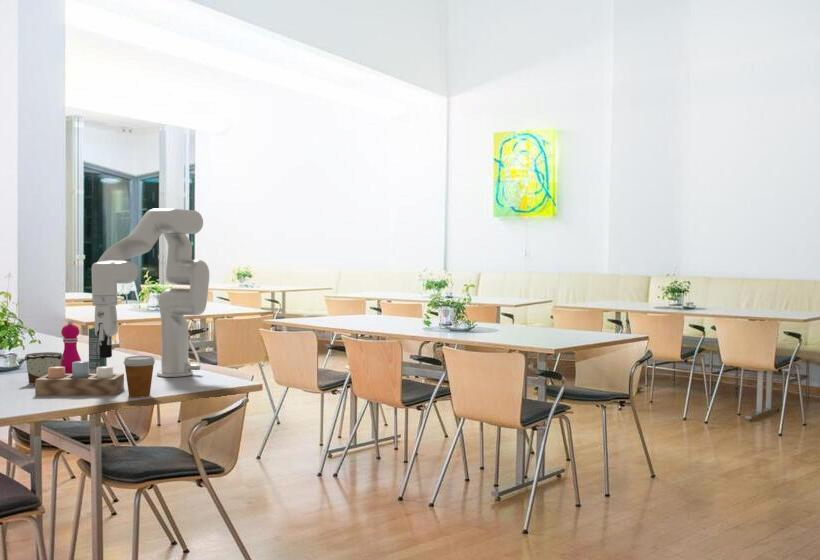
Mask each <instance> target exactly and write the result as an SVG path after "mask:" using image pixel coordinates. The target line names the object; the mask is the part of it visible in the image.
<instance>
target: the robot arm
mask: <svg viewBox="0 0 820 560" xmlns="http://www.w3.org/2000/svg"><path fill="white" fill-rule="evenodd" d="M203 218H204V217H203V216H202V214H201V213H200V212H199V211H196V210H193V209H181V208H152V209H151V208H150V209H148V210H147V211H146V212H145V213H144V214H143V216H142V217H141V219H140V220H139V221H138V223H137V224H136V226H135V227H134V228H133V229H132V231H131V232H130V234H129V235H127V236H126V237H124V238H122V239H120V240H119V241H117V242H116V243H114V244H113V245H111V246H110V247H108V248H107V249H106V250H104V252H103V253H102V254H101V256H100V257H99V259H98V260H97V262H94V263H93V264H92V265H91V294H92V295H91V297H92V299H91V300H92V302H91V303H92V306H93V307H94V328H95V335H96V336H97V337H99V341H100V357H101V358H107V359H108V358H109V359H110V358H111V357H112V356H113V347H112V346H113V344H112V341H113V340H112V339H113V336H114V335H116V334H118V332H119V329H118V328H119V327H118V313H117V312H118V311H117V307H116V306H118V284H122V285H123V284H124V285H126V284H131V283H133V282H135V281H136V280H137V279H138V277H139V274H140V271H139V267H138V266H137V264H135V262H133V261H131V260H130V261H129V259H132V258H135V257H138V256H141V255H145V254H146V253H148V252H150V251H151V250H152V249H153V247H154V246H155V244H156V243H157V241H158V240H159V238H161V235H162V234H163V236H164V238H165V240H166V242H167V248H168V249H167V259H166V268H165V278H166V281H167V282H168V283H169V284H170V285H174V286H189V288H168V289H167V288H166V289H165V290H163V291H162V292H161V293H160V294H159V296H158V303H157V304H158V308H159V315H160V321H161V322H160V323H161V325H160V326H161V331H160V332H161V333H160V335H161V336H160V337H161V339H160V340H161V341H160V343H161V348H160V349H161V353H160V354H161V361H160V363H161V365H160V366H161V370H159V371H157V372H156V375H157V377H161V378H181V377H188V376H191V375H193V373H194V372H193V371H201V364H192V363H191V361H189V325H188V322H187V319H186V317H185V316H200V315H202V314H203V313H204V312H205V310H206V309H207V303H208V294H209V287H210V285H209V284H210V269H209V266H208V264H207V263H206V262H205V261H204V260H201V259H192V256H193V252H192V251H193V246H192V242H191V240H190V239H189V237H188V235H195V234H198V233H199V232H201V230H202V229H203V226H204V219H203Z"/></svg>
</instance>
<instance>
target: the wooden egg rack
mask: <svg viewBox="0 0 820 560" xmlns="http://www.w3.org/2000/svg"><path fill="white" fill-rule="evenodd" d="M34 386H35V390H34V391H35V392H34V393H35V394H34V395H35V396H115V395H117V394H119V392H121V391H123V390H124V388H125V373H113V377H112V378H97V373H89V377H88V378H72V374H65V377H64V378H48V374H47V375H45V376H42V377H40V378H38V379H35V384H34Z"/></svg>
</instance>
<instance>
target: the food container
mask: <svg viewBox="0 0 820 560" xmlns="http://www.w3.org/2000/svg"><path fill="white" fill-rule="evenodd" d="M62 359H63V352H56V351H54V352H53V351H49V352H48V351H47V352H46V351H45V352H44V351H43V352H32V353H27V354H25V356H24V360H23V361H24V362H26V370H27V379H28V385H35V379H38V378H40V377H42V376H45V375H47V374H48V368H49V367H61V361H62ZM63 360H64V359H63Z"/></svg>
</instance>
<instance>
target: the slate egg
mask: <svg viewBox="0 0 820 560" xmlns="http://www.w3.org/2000/svg"><path fill="white" fill-rule="evenodd" d="M89 374H90V368H89V360H88V361H87V360H81V361H76V362H72V378H88V377H89Z"/></svg>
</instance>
